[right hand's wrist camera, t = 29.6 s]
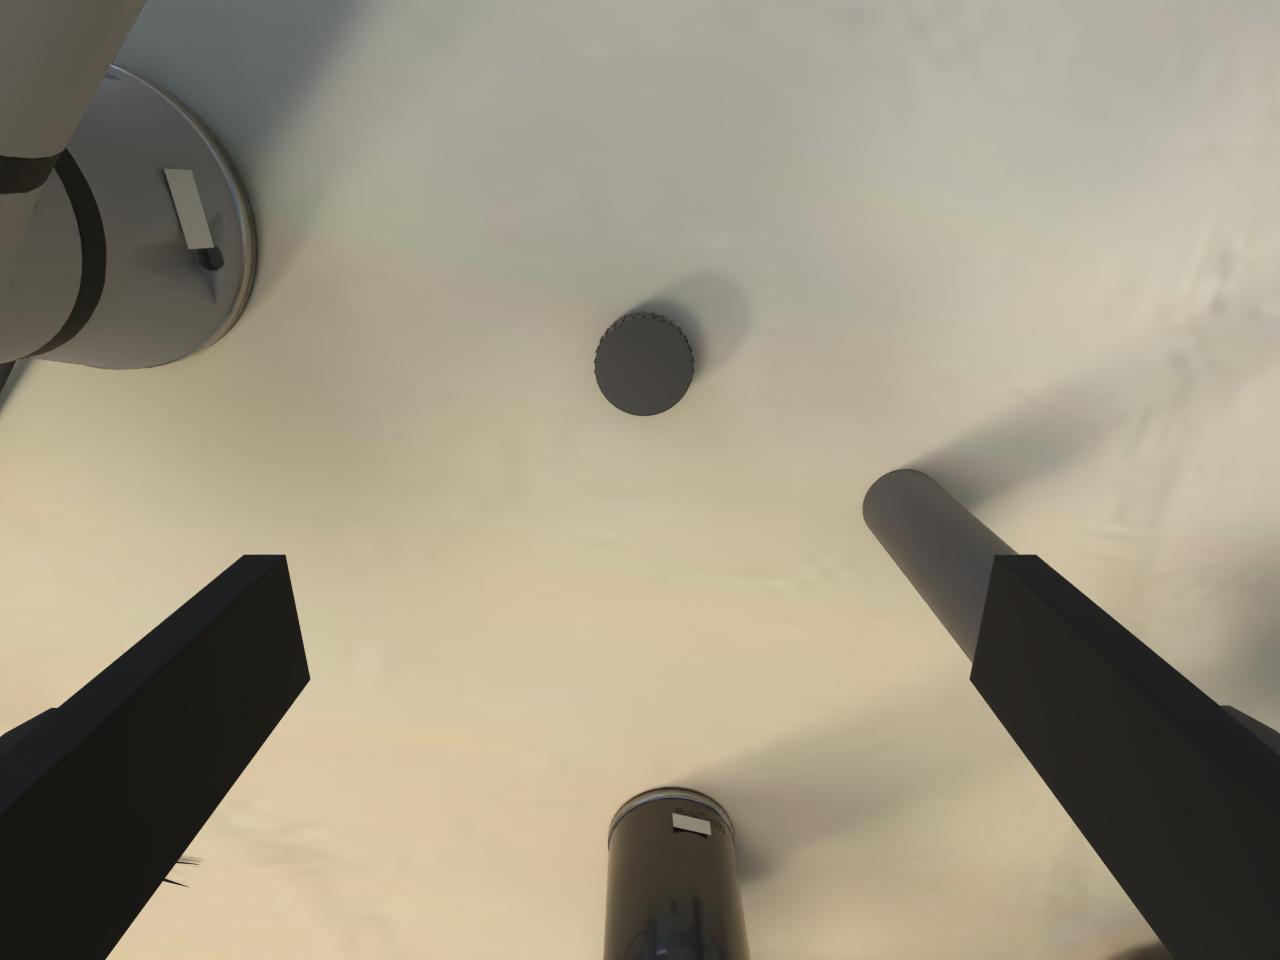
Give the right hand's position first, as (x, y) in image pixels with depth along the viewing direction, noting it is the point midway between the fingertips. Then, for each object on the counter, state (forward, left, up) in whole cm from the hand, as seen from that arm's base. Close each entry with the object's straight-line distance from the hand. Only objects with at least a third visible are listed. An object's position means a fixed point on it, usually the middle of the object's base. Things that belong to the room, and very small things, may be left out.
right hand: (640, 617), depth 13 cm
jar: (+9, -16, -28) cm, 34 cm away
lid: (0, 0, -26) cm, 26 cm away
